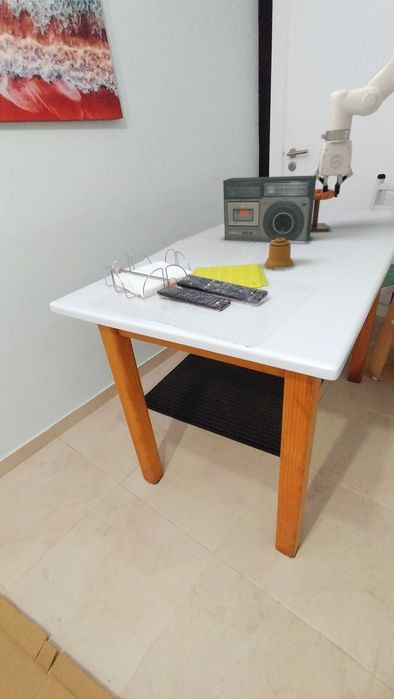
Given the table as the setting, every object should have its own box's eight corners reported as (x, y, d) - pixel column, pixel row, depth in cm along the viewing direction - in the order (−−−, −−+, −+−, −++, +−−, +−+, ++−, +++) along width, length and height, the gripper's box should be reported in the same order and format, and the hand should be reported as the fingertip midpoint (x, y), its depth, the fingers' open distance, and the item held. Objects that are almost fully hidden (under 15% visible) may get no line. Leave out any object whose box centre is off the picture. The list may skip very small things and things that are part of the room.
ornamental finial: (284, 273, 92) (260, 268, 96) (296, 265, 96) (273, 261, 101) (286, 243, 87) (261, 240, 92) (299, 236, 92) (275, 234, 96)
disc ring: (331, 194, 125) (332, 187, 124) (337, 199, 116) (338, 192, 115) (301, 196, 127) (301, 189, 126) (304, 201, 118) (305, 194, 117)
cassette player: (224, 240, 124) (223, 180, 113) (231, 236, 129) (230, 178, 118) (306, 244, 112) (312, 178, 102) (309, 239, 117) (316, 175, 107)
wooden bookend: (324, 226, 130) (328, 191, 124) (328, 232, 123) (333, 195, 116) (300, 227, 132) (303, 193, 125) (302, 233, 125) (306, 197, 118)
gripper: (313, 139, 109) (307, 200, 119) (367, 134, 106) (356, 197, 116) (310, 138, 115) (305, 196, 125) (361, 134, 113) (351, 194, 122)
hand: (330, 196), depth 121 cm, fingers closed on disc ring, 2 cm apart
